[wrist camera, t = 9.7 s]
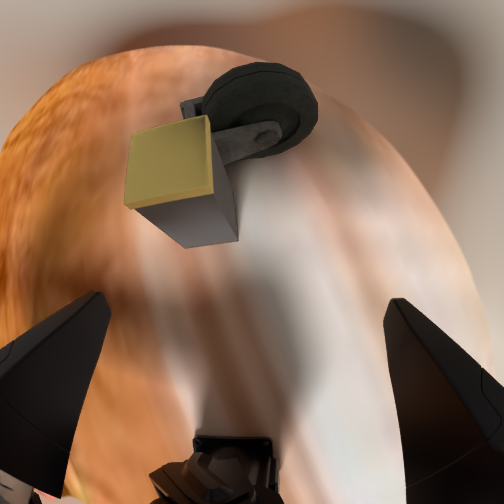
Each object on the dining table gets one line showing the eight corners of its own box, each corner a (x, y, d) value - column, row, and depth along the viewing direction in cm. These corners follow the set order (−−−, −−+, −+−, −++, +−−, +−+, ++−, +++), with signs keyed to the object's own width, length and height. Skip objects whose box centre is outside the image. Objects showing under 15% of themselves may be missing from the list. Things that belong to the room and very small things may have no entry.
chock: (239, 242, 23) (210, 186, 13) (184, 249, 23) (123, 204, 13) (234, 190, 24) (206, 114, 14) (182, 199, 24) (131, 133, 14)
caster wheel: (296, 122, 26) (150, 149, 25) (310, 48, 17) (115, 82, 16) (313, 166, 25) (152, 198, 24) (339, 93, 15) (107, 134, 14)
